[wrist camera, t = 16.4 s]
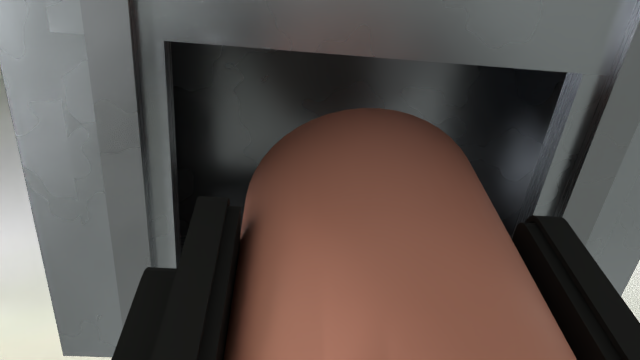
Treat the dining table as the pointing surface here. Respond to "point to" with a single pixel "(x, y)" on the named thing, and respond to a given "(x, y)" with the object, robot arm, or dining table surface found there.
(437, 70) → the grey metal box
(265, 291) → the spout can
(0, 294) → the dining table surface
